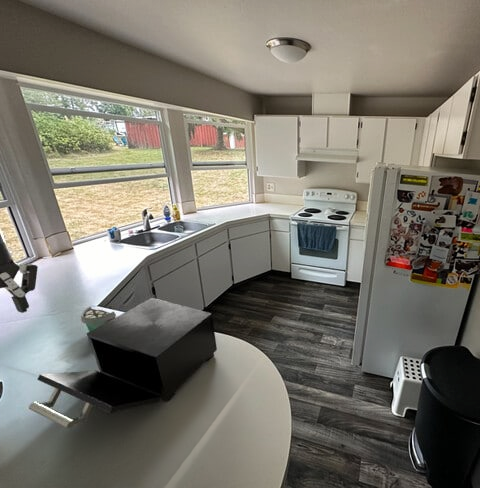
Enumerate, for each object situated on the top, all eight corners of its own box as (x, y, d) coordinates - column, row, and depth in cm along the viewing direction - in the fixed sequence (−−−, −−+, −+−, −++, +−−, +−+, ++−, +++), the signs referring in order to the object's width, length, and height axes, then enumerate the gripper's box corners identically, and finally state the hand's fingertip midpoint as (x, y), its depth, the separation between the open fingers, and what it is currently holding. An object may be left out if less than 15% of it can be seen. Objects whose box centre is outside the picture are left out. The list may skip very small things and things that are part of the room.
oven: (167, 405, 69) (155, 357, 64) (102, 378, 77) (86, 333, 71) (217, 354, 87) (211, 313, 82) (160, 336, 94) (151, 297, 89)
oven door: (152, 420, 65) (85, 440, 51) (85, 390, 72) (10, 401, 58) (161, 396, 67) (99, 409, 52) (96, 370, 74) (25, 375, 60)
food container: (78, 338, 92) (70, 315, 89) (96, 327, 98) (89, 306, 94) (104, 344, 90) (97, 321, 86) (121, 333, 95) (115, 311, 92)
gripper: (14, 231, 56) (40, 297, 62) (-103, 252, 43) (-56, 333, 49) (35, 235, 54) (60, 303, 60) (-82, 259, 41) (-35, 343, 47)
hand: (8, 316), depth 54 cm, fingers open, 4 cm apart
